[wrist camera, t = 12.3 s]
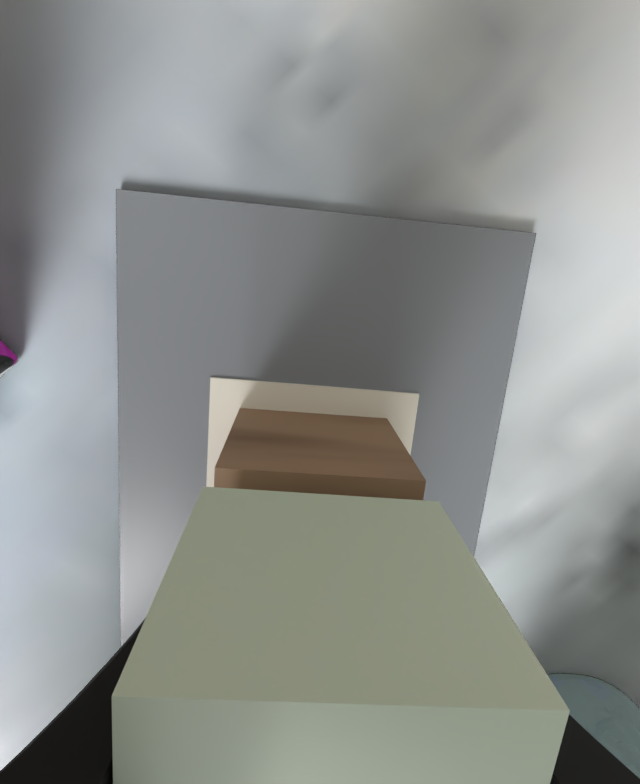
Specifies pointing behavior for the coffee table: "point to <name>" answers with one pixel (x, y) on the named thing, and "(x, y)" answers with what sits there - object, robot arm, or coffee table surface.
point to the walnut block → (317, 456)
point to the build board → (301, 349)
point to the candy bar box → (6, 358)
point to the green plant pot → (603, 715)
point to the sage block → (330, 654)
